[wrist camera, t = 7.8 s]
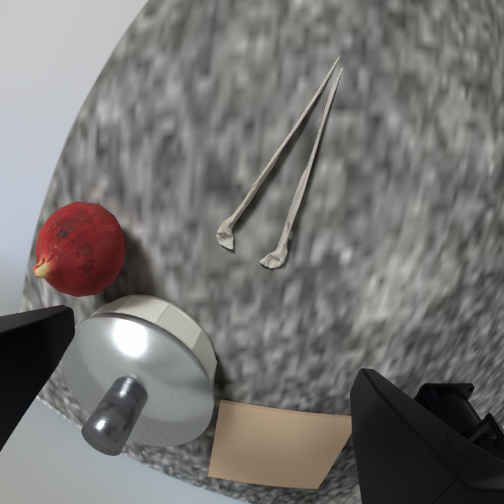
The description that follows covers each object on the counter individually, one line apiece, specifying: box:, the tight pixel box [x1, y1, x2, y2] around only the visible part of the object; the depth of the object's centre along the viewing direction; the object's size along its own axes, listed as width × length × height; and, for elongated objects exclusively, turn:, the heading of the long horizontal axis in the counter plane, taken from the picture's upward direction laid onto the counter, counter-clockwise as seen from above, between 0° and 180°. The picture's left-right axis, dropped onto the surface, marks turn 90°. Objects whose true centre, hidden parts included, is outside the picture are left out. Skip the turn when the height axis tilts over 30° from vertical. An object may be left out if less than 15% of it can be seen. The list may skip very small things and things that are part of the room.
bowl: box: [91, 294, 217, 386], centre depth 22 cm, size 11×11×4 cm
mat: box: [208, 399, 352, 489], centre depth 25 cm, size 12×12×1 cm
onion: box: [33, 202, 126, 297], centre depth 17 cm, size 6×6×8 cm
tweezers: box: [217, 56, 343, 269], centre depth 19 cm, size 17×5×2 cm, turn 155°
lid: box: [61, 312, 215, 456], centre depth 17 cm, size 12×12×6 cm
